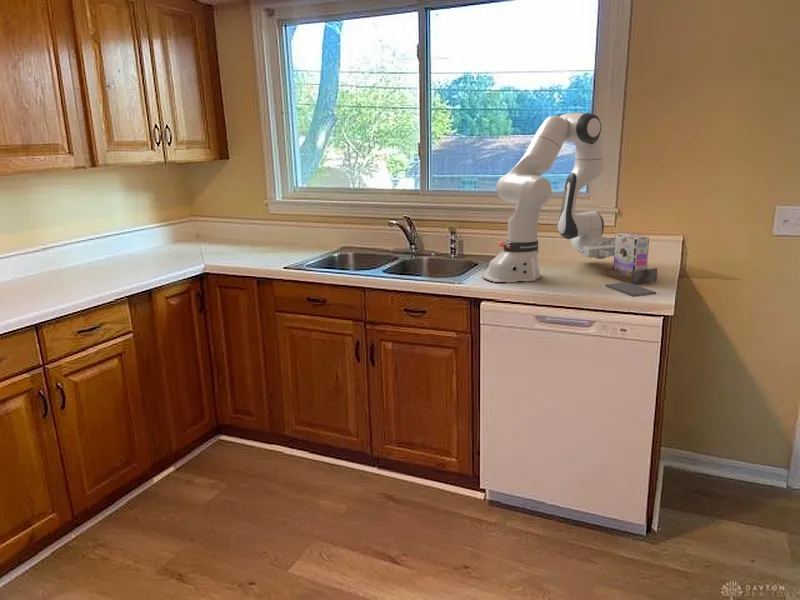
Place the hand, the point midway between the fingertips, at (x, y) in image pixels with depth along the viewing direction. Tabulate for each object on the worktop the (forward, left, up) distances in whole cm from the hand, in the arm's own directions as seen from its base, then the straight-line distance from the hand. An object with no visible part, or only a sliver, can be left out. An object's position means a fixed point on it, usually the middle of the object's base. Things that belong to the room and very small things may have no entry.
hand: (620, 253), depth 236 cm
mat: (-10, -21, -9) cm, 25 cm away
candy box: (0, -6, -9) cm, 11 cm away
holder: (0, -6, -9) cm, 11 cm away
